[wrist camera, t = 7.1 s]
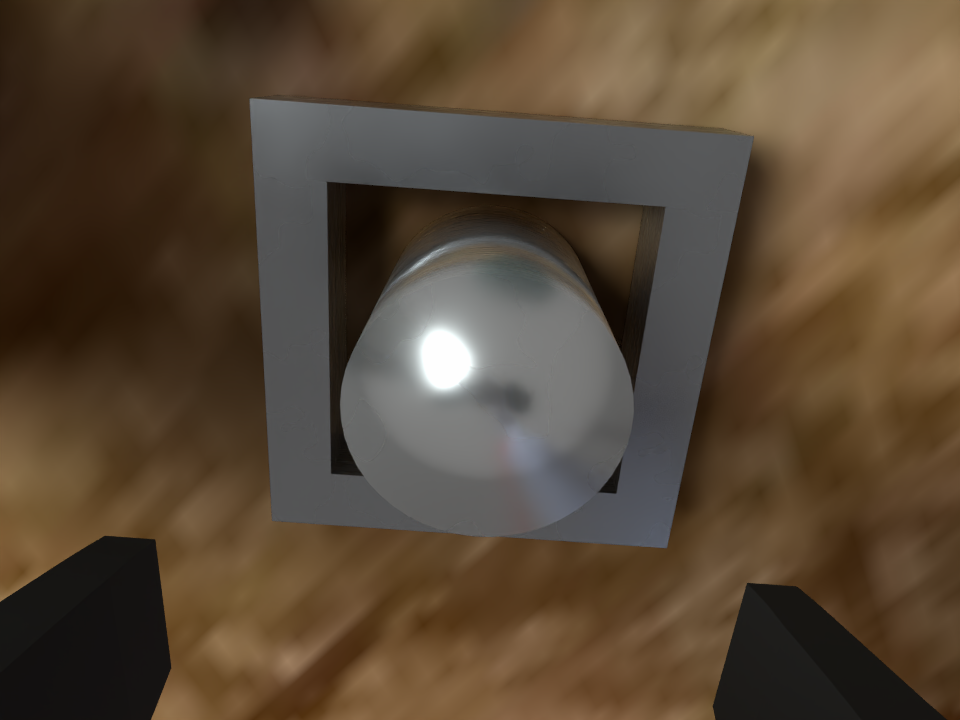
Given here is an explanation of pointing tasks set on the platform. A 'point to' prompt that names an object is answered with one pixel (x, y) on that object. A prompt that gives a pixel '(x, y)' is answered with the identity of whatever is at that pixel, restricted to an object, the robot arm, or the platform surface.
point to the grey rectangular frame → (493, 170)
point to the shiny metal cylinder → (487, 379)
